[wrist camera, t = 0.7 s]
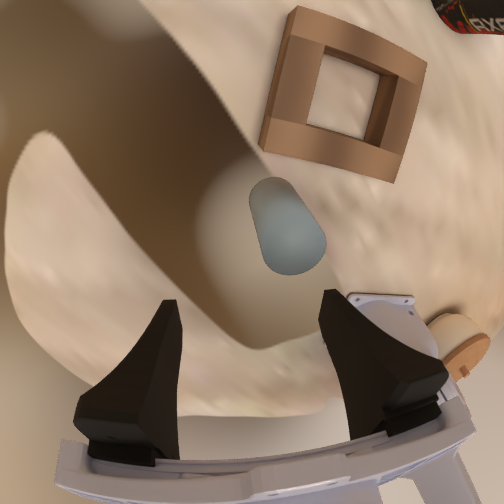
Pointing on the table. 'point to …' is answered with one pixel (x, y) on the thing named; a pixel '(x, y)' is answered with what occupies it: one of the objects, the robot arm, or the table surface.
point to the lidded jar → (459, 343)
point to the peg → (285, 228)
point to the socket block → (303, 85)
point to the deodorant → (472, 15)
